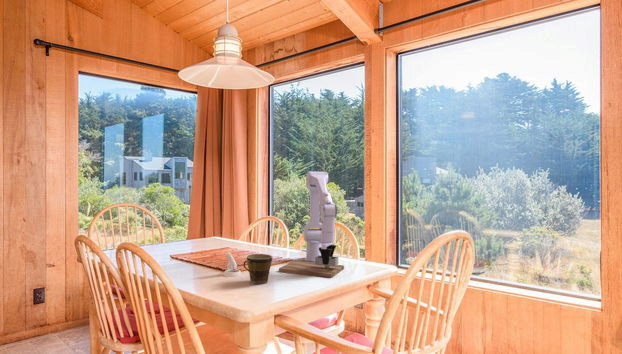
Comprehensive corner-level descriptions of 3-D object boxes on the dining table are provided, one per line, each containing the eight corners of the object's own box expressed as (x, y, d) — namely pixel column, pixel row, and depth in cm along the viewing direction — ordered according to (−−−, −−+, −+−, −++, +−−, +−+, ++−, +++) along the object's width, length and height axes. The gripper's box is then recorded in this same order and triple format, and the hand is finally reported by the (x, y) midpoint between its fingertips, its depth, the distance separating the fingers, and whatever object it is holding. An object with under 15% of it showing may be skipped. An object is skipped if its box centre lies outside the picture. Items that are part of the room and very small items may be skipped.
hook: (213, 265, 160) (217, 253, 166) (224, 285, 167) (228, 272, 172) (230, 262, 159) (234, 250, 165) (241, 282, 165) (244, 270, 171)
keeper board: (295, 263, 191) (295, 250, 191) (344, 268, 182) (344, 255, 182) (278, 271, 174) (279, 257, 174) (331, 277, 165) (331, 263, 165)
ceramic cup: (259, 277, 164) (260, 252, 164) (277, 282, 157) (277, 256, 157) (234, 283, 154) (235, 257, 153) (252, 288, 147) (253, 261, 147)
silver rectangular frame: (318, 262, 180) (318, 255, 180) (338, 263, 177) (338, 256, 177) (315, 264, 174) (315, 257, 174) (335, 266, 172) (335, 259, 172)
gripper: (323, 229, 184) (322, 258, 184) (314, 233, 170) (314, 265, 170) (338, 230, 182) (337, 260, 182) (331, 234, 168) (330, 267, 168)
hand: (327, 262), depth 176 cm, fingers closed on silver rectangular frame, 5 cm apart
